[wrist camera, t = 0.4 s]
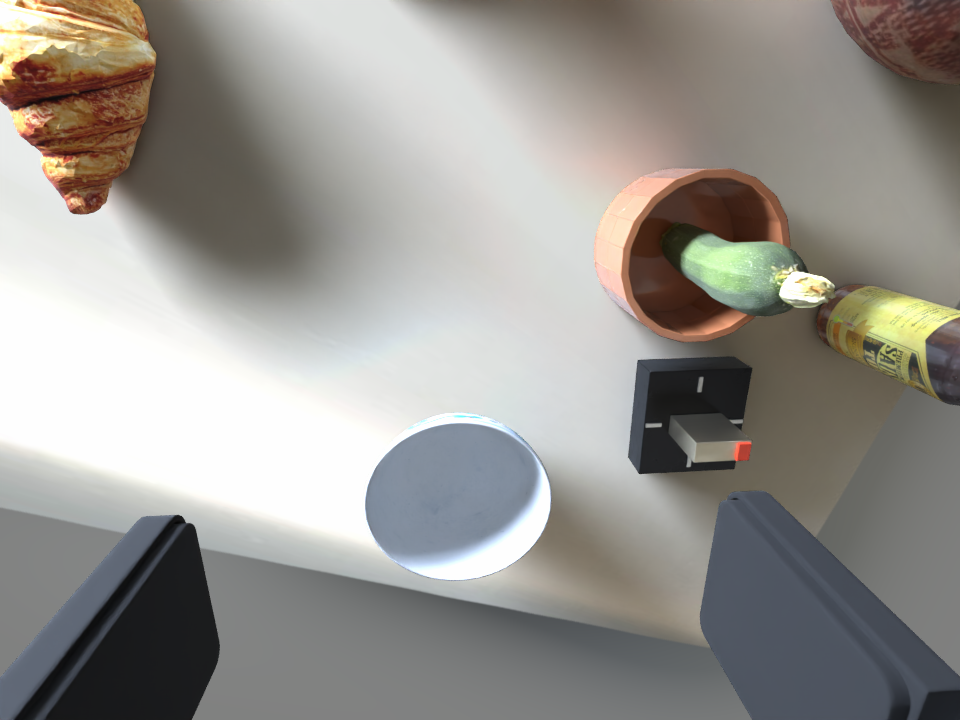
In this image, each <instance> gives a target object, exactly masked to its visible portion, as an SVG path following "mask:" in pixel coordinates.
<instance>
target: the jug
mask: <svg viewBox="0 0 960 720" xmlns="http://www.w3.org/2000/svg"><path fill="white" fill-rule="evenodd" d="M831 2H832V5H833V8H834V10H835V13H836V15H837V17H838V19H839V20H840V22H841V23H842V25H843V27H844V29H845V30H846V32H847V33H848V34H849V35H850V37H851V38H852V39H853V40H854V41H855V42H856V43H857V44H858V45H859V46H860V47H861V49H862V50H863V51H864V52H865V53H866V54H867V55H868V56H870V57H871V58H873V59H874V60H875V61H877V62H878V63H880V64H881V65H883V66H885V67H886V68H888V69H890V70H892V71H893V72H895V73H897V74H898V75H901V76H904V77H908V78H912V79H916V80H920V81H924V82H928V83H935V84H960V0H831Z"/></svg>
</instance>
